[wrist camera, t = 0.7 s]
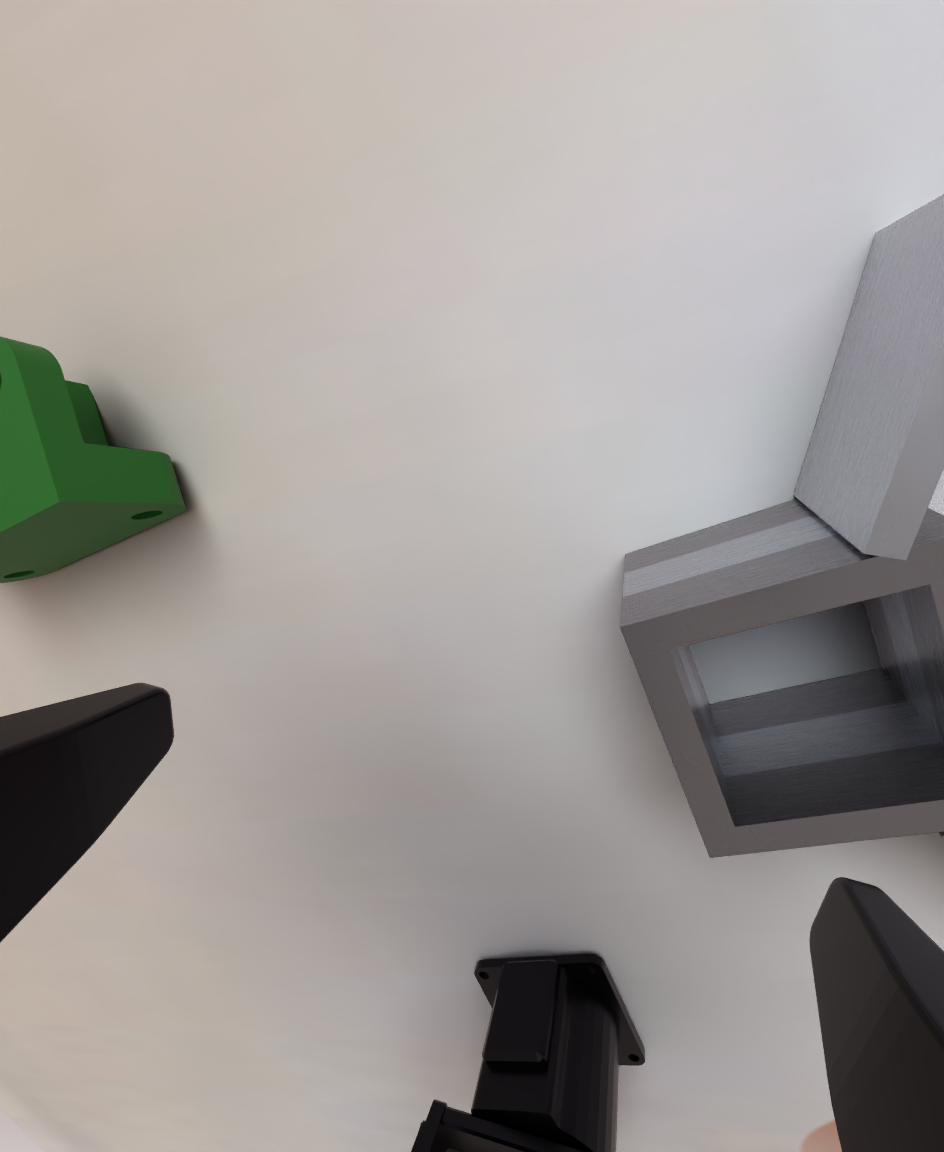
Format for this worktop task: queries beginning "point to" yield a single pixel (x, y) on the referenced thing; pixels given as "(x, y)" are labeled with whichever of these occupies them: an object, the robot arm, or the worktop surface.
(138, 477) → the clamp
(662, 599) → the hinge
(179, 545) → the worktop surface
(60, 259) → the worktop surface
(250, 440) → the worktop surface
